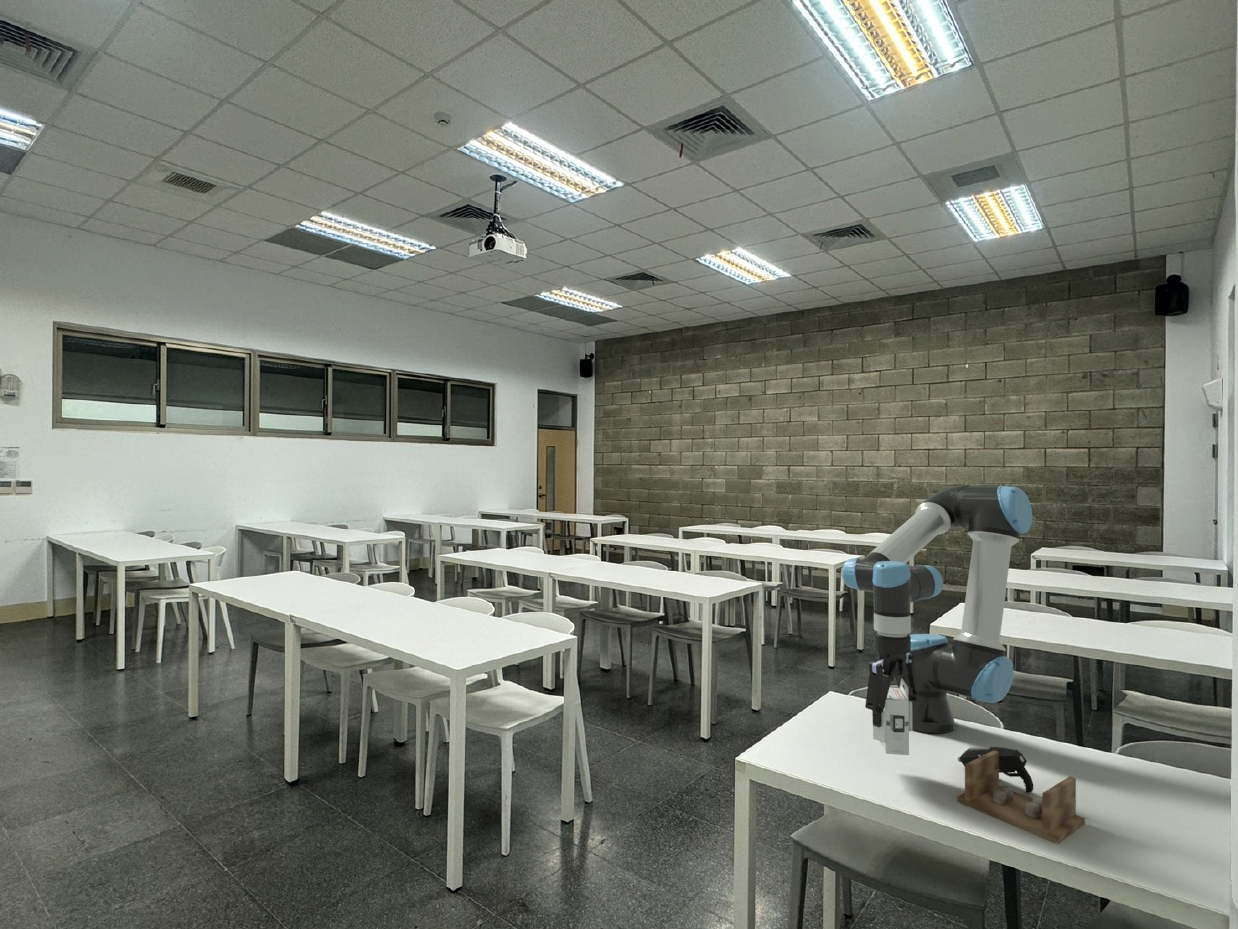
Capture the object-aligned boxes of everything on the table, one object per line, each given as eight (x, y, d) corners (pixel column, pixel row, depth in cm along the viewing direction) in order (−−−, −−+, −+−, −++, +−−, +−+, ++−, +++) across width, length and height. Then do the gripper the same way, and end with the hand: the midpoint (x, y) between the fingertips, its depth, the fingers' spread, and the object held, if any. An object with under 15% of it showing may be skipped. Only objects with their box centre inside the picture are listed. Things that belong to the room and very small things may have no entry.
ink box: (877, 737, 147) (877, 672, 147) (900, 739, 146) (900, 673, 146) (885, 754, 139) (884, 685, 139) (909, 756, 138) (909, 686, 138)
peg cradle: (986, 785, 138) (986, 747, 138) (1084, 823, 123) (1084, 781, 123) (957, 801, 131) (957, 761, 131) (1057, 843, 116) (1057, 799, 116)
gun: (982, 785, 146) (955, 745, 148) (1048, 787, 133) (1017, 742, 134) (976, 793, 145) (949, 752, 147) (1042, 795, 131) (1011, 750, 133)
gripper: (904, 621, 152) (905, 717, 152) (846, 637, 139) (847, 741, 139) (935, 628, 145) (936, 728, 146) (877, 645, 133) (879, 754, 133)
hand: (893, 734), depth 142 cm, fingers closed on ink box, 9 cm apart
